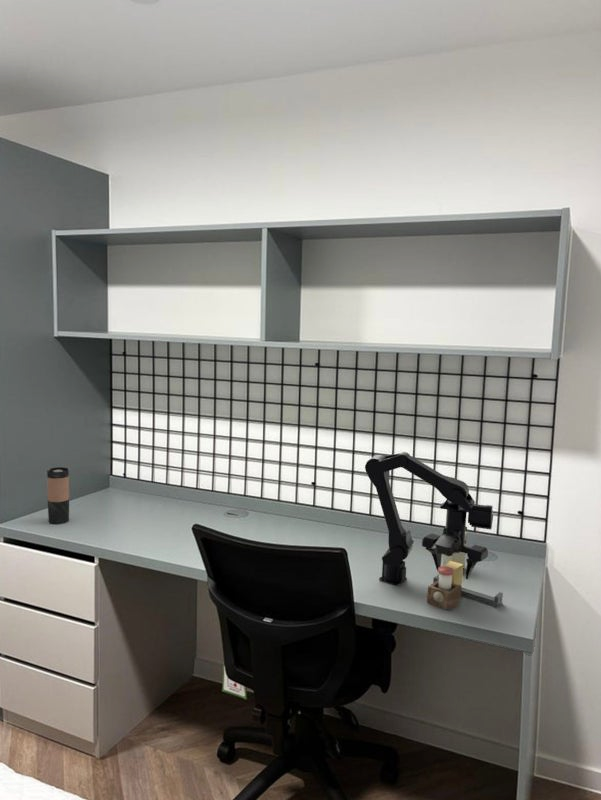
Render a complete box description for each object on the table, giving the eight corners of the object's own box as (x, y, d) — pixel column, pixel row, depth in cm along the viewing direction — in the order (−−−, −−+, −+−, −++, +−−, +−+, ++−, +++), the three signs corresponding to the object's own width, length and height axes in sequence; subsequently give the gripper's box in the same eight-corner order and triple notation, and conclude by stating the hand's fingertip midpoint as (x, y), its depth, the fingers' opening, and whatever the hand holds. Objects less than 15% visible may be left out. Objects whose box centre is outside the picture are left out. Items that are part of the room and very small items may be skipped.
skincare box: (452, 572, 206) (454, 535, 205) (441, 567, 210) (444, 531, 208) (465, 568, 210) (467, 532, 208) (454, 563, 213) (457, 528, 212)
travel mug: (72, 522, 242) (71, 470, 239) (52, 525, 237) (51, 473, 234) (65, 516, 248) (64, 466, 245) (45, 520, 243) (43, 468, 240)
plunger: (433, 592, 183) (435, 569, 182) (440, 587, 187) (442, 565, 186) (448, 596, 181) (449, 573, 180) (454, 591, 184) (456, 569, 183)
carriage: (440, 590, 191) (442, 566, 190) (449, 584, 196) (450, 560, 195) (452, 594, 189) (454, 570, 188) (461, 588, 193) (463, 564, 192)
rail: (432, 587, 194) (433, 577, 194) (438, 584, 197) (438, 574, 196) (497, 608, 182) (498, 597, 181) (502, 603, 185) (502, 593, 184)
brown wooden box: (426, 603, 183) (427, 586, 182) (438, 595, 189) (439, 578, 188) (449, 611, 179) (450, 594, 178) (460, 602, 185) (461, 585, 184)
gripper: (414, 523, 189) (411, 574, 191) (474, 538, 177) (471, 592, 180) (431, 514, 198) (428, 563, 200) (490, 528, 186) (486, 580, 188)
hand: (452, 574), depth 192 cm, fingers open, 9 cm apart
